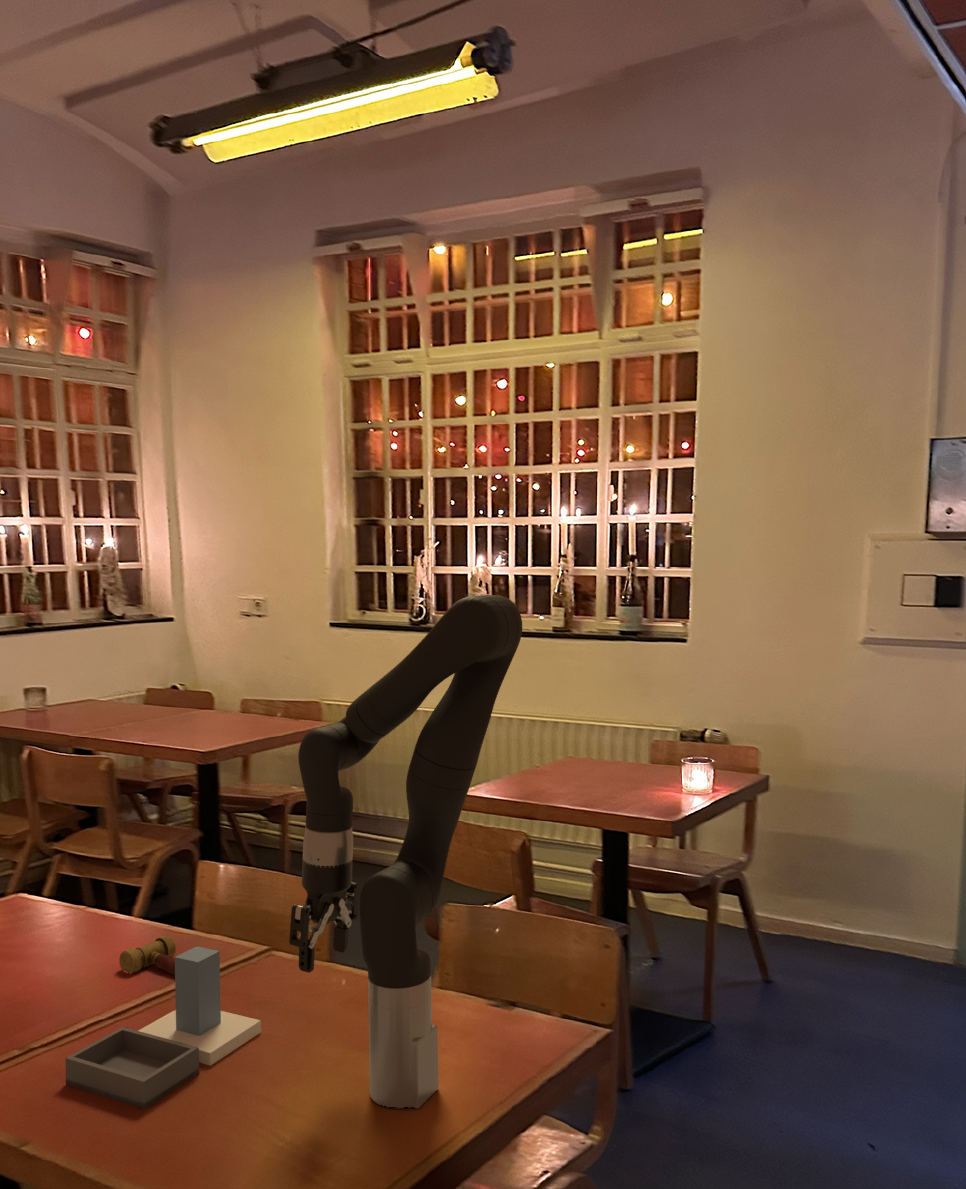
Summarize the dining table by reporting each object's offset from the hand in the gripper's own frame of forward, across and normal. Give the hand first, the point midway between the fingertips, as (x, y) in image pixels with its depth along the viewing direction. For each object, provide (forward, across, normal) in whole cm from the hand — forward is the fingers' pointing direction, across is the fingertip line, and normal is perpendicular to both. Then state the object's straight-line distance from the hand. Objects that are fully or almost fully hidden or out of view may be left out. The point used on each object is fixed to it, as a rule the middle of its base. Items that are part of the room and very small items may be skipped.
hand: (323, 960), depth 145 cm
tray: (+19, -14, +24) cm, 34 cm away
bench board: (+19, 0, +24) cm, 31 cm away
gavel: (+21, +18, +47) cm, 55 cm away
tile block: (+17, 0, +25) cm, 30 cm away
